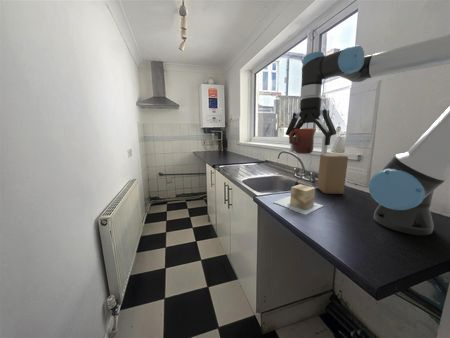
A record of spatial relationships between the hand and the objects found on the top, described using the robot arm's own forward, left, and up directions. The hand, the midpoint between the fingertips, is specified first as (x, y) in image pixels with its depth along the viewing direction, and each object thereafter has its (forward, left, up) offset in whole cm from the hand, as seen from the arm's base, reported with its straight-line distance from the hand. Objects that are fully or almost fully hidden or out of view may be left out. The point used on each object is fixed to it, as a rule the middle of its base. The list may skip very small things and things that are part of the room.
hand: (307, 152), depth 76 cm
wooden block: (+2, -30, -24) cm, 38 cm away
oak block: (+1, 0, -23) cm, 23 cm away
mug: (+3, 0, -1) cm, 3 cm away
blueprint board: (+2, 0, -24) cm, 24 cm away
